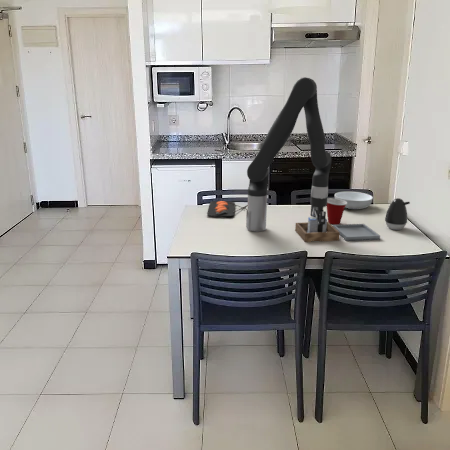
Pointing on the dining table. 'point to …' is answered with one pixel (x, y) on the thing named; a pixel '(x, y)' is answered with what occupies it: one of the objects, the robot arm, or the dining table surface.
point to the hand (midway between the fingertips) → (316, 229)
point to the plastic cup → (335, 210)
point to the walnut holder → (317, 233)
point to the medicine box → (315, 225)
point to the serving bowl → (354, 199)
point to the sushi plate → (222, 208)
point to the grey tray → (356, 232)
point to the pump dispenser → (396, 214)
